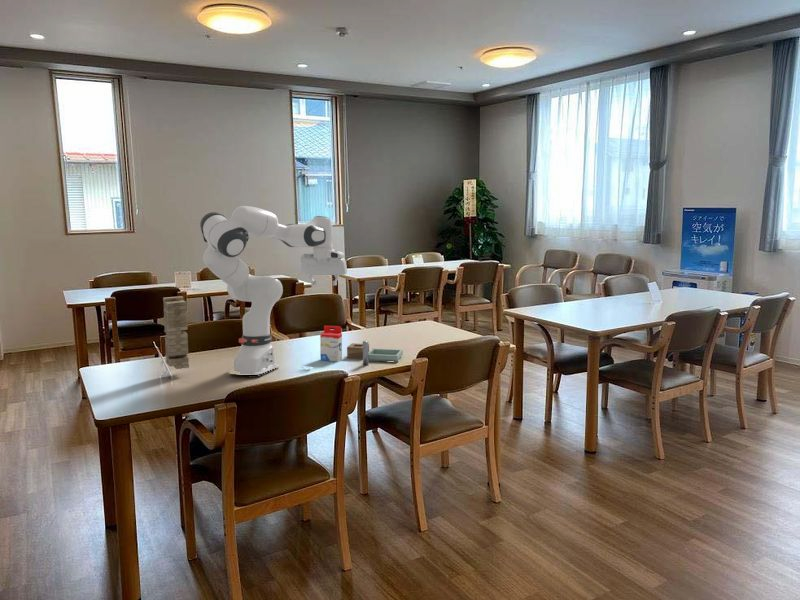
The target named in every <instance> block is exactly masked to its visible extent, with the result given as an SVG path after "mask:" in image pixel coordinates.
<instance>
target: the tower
mask: <svg viewBox="0 0 800 600" xmlns="http://www.w3.org/2000/svg"><path fill="white" fill-rule="evenodd" d="M162 301H163V323H164V330H163V331H164V333H165V336H164V341H165V342H164V343H165V344H164V345H165V347H164V348H165V363H166V364H167V366H169V367H174V368H175V369H176V370H182V369H189V368H190V363H189V361H190V359H189V357H188V354H189V344H188V343H189V340H188V333H187V332H186V331H187V330H188V312H187V311H188V310H187V309H188V306H187V301H185V300H184V296H183V295H181V296H170V297H169V296H167V297H162Z"/></svg>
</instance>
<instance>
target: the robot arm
mask: <svg viewBox="0 0 800 600" xmlns="http://www.w3.org/2000/svg"><path fill="white" fill-rule="evenodd" d="M199 224H200V226H199V227H200V231H201V234H202V238H203V241H204V242H205V243H207V245H208V246H207V248H206V249H205V250H204V252H203V254H202V260H203V261H202V262H203V263H204V265H205V266H206V267H207V268H208V269H209V271H210V272H211V273H212V274H214V276H216V277H217V278H219V280H221V281H222V282H224V283H225V285H227V286H226V290H227V294H228V296H229V297H230V298H231V299H234V300H237V301H240V302H249V303H251V306H250V309H249V310H248V311H247V312H245V314H243V316H242V335H241V337H240V338H238V343H239V344H241V346H240V348H238V351H237V353H236V355H235V357H234V360H233V367H234V371H237V372H240V374H251V375H258V374H262V373H264V374H266V373H268V372H267V371H269V372H271V371H273V370H272V369H274V370H276V369H278V367H279V368H280V365H279V364H278V363H277V361H276V360H277V359H276V351H275V347H274V346H273V345H272V333H271V331H270V329H271V328H270V327H271V326H270V325H271V324H270V323H271V321H270V320H271V318H270V317H271V312H272V310H273V307H274V305H275V304H276V303H277V302H278V301H280V299H281V297H282V296H283V292H284V289H283V288H284V286H283V284H282V282H281V280H280V279H278V278H275V277H271V276H267V275H266V276H265V275H264V276H263V275H253V274H250V268H249V265H248V264H246V263H245V262H244V261H243V260H242V259H241V258H240V257H238V256H239V255H241V253H243V252H244V250H245V248H246V246H247V242H248V241H249V239H250V238H249V236H253V237H257V238H262V239H271V238H273V239H276V240H280V241H281V242H282V243H284V245H286V246H287V247H289V248H312V253H304V254H302V255H301V256H300V263H301V265H300V273H301V275H303V276H305V275H307V276H308V278H309V279H310V281H311V286H316V285H317V281H316V280H315V279H314V276H334V278H335V279H334V280H333V281H332V286H337V285H338V280H339V278H340V276H345V275H346V274H348V273H347V272H348V267H347V260H346V259H345V258H344V257H345V253H344V252H343V251H339V250H336V249H334V244H333V238H334V229H333V222H332V220H331V218H330V217H327V216H323V215H322V216H321V215H315V216H314V217H313V219H312V220H310V221H309V222H307V223H306V224H303V223H302V224H300V223H299V224H298V223H297V224H296V223H288V224H281V223H279V218H278V216H277V215H276V214H275V213H273V212H272V211H270V210H266V209H265V208H264V209H263V208H260V207H255V206H251V205H250V206H249V205H241V206H240V205H239V206H237V207H236V208H235V209H234V210H233V212H232V214H231V217H230V218H227V217H226V216H224V215H223V214H221V213H220V212H216V211H215V212H214V211H213V212H208V213H207V214H204V216H203V217H202V218H201V220H200V223H199ZM275 368H276V369H275ZM270 370H271V371H270ZM265 372H266V373H265ZM262 375H263V374H262ZM258 376H259V375H258Z"/></svg>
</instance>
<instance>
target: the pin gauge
mask: <svg viewBox="0 0 800 600" xmlns="http://www.w3.org/2000/svg"><path fill="white" fill-rule="evenodd" d="M362 344H363V359H362V366H369V364H370V361H369V354H368V344H369V341H368V340H363V341H362Z"/></svg>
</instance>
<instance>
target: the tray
mask: <svg viewBox="0 0 800 600" xmlns="http://www.w3.org/2000/svg"><path fill="white" fill-rule="evenodd" d="M368 354H369V362H370V361H394V362H395V361H396V362H398V360H399V359H400V358H401V356H402V355H403V356H404V350H403V349H397V348H396V349H395V348H394V349H393V348H391V349H390V348H371V349H369V352H368ZM401 359H402V358H401ZM401 359H400V360H401ZM398 363H399V362H398Z"/></svg>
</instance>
